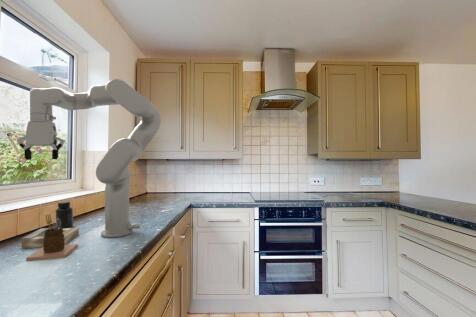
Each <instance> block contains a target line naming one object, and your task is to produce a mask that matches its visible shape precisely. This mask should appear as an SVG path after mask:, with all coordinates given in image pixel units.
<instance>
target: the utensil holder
mask: <svg viewBox="0 0 476 317" xmlns="http://www.w3.org/2000/svg"><path fill="white" fill-rule="evenodd" d="M51 216H52V215H51V214H45V221H46V225H48V228H49V229H48V230H46V231H45V236H44V239H43V250H44V252H45V253H53V252H58V251H61V250H63V249H64V245H65V239H64V234H63V229H62V228H56V222H57V221H56V218H55V219H54V221H55V222H52V217H51ZM58 220H59V219H58ZM51 224H52V225H53V227H52V226H51ZM57 225H58V224H57ZM59 227H60V226H59Z"/></svg>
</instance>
